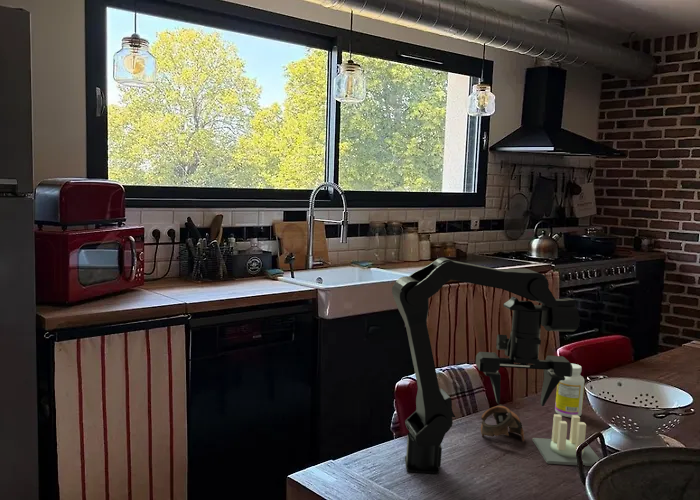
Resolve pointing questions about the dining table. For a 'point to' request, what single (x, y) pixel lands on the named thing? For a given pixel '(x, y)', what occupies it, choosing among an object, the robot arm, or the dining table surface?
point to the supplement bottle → (570, 394)
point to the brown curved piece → (501, 422)
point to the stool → (560, 432)
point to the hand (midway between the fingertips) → (519, 404)
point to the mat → (554, 458)
